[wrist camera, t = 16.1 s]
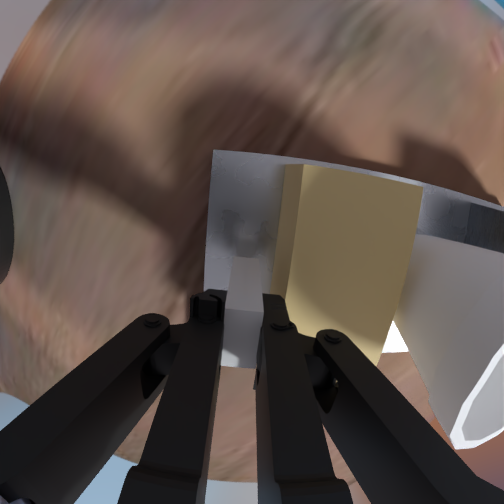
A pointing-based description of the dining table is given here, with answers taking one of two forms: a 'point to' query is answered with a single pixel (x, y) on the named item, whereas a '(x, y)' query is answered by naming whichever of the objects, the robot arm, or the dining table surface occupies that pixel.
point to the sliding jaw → (344, 251)
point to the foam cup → (457, 334)
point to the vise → (268, 212)
